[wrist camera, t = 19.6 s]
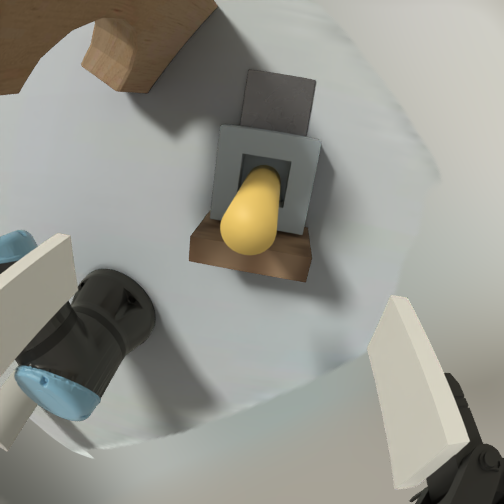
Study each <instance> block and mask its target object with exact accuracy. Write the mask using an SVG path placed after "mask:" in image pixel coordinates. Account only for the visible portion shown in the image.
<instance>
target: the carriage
mask: <svg viewBox="0 0 504 504" xmlns="http://www.w3.org/2000/svg"><path fill="white" fill-rule="evenodd" d="M321 143H322V142H321V141H320V140H319V139H315V138H310V137H305V136H300V135H295V134H289V133H284V132H278V131H272V130H266V129H259V128H252V127H245V126H238V125H230V124H226V125H221V127H220V134H219V142H218V150H217V158H216V167H215V175H214V184H213V193H212V202H211V212H210V219H215V220H222V218H223V216H224V214H225V212H226V211H227V209H228V207H229V206H230V204H231V202H232V200H233V199H234V197H235V196H236V194H237V192H238V191H239V189H240V187H241V186H242V184H243V182H244V181H245V179H246V177H247V176H248V174H249V173H250V171H251V170H252V169H253V168H255V167H256V166H259V165H268V166H271V167H273V168H274V169H275V170H276V171H277V172H278V173H279V175H280V179H281V185H280V197H279V209H278V221H277V230H278V231H283V232H289V233H294V234H299V235H303V230H304V226H305V221H306V217H307V212H308V207H309V203H310V198H311V193H312V188H313V183H314V179H315V174H316V169H317V164H318V158H319V153H320V148H321Z"/></svg>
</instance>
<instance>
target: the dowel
mask: <svg viewBox="0 0 504 504" xmlns="http://www.w3.org/2000/svg"><path fill="white" fill-rule="evenodd" d="M280 185H281V179H280V175H279V173H278V172H277V171H276V170H275V169H274V168H273V167H271V166H268V165H259V166H256V167H255V168H253V169H252V170H251V171H250V173H249V174H248V176H247V177H246V179H245V181H244V182H243V184H242V186H241V187H240V189H239V191H238V192H237V194H236V196H235V197H234V199H233V200H232V202H231V204H230V206H229V207H228V209H227V211H226V212H225V214H224V216H223V218H222V220H221V225H220V231H221V235H222V238H223V240H224V242H225V243H226V245H227V246H228V247H229V248H231V249H232V250H233V251H235V252H237V253H239V254H243V255H256V254H260V253H262V252H264V251H266V250H267V249H268V248H269V247H270V246H271V245H272V244H273V242H274V240H275V237H276V232H277V221H278V209H279V197H280Z"/></svg>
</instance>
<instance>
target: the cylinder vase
mask: <svg viewBox="0 0 504 504" xmlns="http://www.w3.org/2000/svg"><path fill="white" fill-rule="evenodd" d="M14 374H15V370H14V371H13V373H12V374H11V375H10V376H9V378H8V379H7V380H6V382H5V383H4V384H3V385H2V387H1V388H0V447H1V448H2V449H4V450H5V451H7V452H8V451H9V449H10V447H11V446H12V444H13V443H14V441H15V439H16V438H17V436H18V434H19V433H20V431H21V430H22V428H23V426H24V425H25V423H26V422H27V420H28V419H29V417H30V416H31V414H32V413H33V411H34V410H35V408H36V407H37V405H38V404H37V403H35V402H34V401H33V400H32V399H30V398H29V397H28V396H27V395H26V394H25V393H24V392H23V391H22V390H21V389H20V387H19V386H18V384H17V381H16V380H15V378H14Z"/></svg>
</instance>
